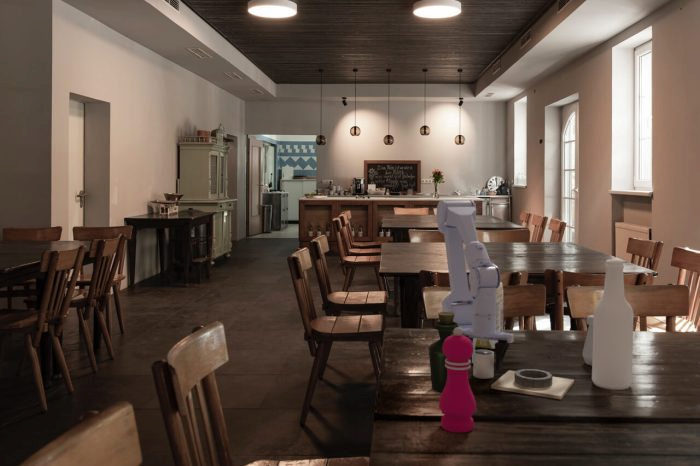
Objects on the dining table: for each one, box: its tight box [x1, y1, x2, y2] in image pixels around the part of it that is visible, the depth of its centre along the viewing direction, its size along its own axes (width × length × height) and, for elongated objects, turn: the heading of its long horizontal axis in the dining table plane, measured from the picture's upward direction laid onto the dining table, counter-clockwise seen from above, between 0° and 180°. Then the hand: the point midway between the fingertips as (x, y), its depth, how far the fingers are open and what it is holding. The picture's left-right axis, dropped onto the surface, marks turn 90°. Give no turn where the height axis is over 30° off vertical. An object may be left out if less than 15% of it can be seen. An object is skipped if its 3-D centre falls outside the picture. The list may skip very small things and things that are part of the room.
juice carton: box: [475, 281, 504, 350], centre depth 191 cm, size 8×9×19 cm
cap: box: [472, 349, 495, 380], centre depth 161 cm, size 5×5×6 cm
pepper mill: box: [438, 327, 477, 434], centre depth 126 cm, size 7×7×20 cm
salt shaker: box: [582, 314, 594, 367], centre depth 171 cm, size 6×6×13 cm
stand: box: [490, 368, 575, 400], centre depth 153 cm, size 16×14×3 cm
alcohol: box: [591, 258, 635, 391], centre depth 153 cm, size 9×9×30 cm
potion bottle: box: [428, 311, 458, 394], centre depth 150 cm, size 8×8×18 cm
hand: (483, 367), depth 161 cm, fingers open, 7 cm apart
